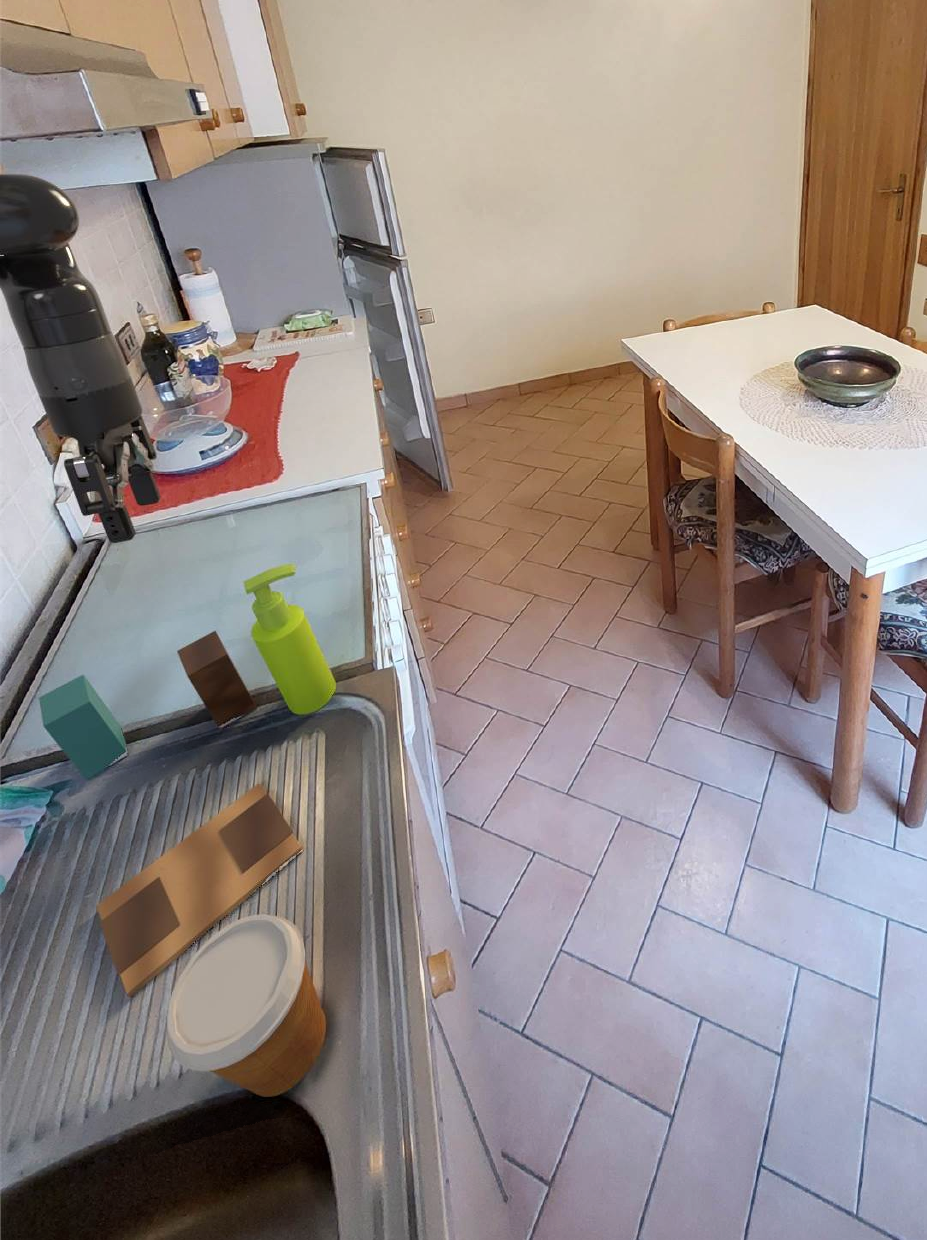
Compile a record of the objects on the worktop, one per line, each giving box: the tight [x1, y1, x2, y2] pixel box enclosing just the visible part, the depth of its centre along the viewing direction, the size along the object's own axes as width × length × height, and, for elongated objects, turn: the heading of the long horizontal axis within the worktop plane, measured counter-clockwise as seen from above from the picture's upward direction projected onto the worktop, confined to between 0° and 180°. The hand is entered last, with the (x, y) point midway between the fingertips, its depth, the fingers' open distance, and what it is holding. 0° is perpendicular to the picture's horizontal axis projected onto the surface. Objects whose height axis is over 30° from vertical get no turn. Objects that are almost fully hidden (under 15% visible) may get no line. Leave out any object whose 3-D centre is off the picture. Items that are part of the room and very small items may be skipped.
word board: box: [95, 782, 303, 998], centre depth 69 cm, size 16×11×1 cm
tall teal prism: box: [38, 674, 127, 781], centre depth 81 cm, size 4×6×10 cm
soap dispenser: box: [243, 563, 337, 716], centre depth 84 cm, size 6×7×20 cm
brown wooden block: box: [176, 630, 258, 727], centre depth 86 cm, size 4×6×10 cm
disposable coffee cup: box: [166, 914, 327, 1098], centre depth 54 cm, size 10×10×12 cm
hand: (137, 520), depth 75 cm, fingers open, 8 cm apart
